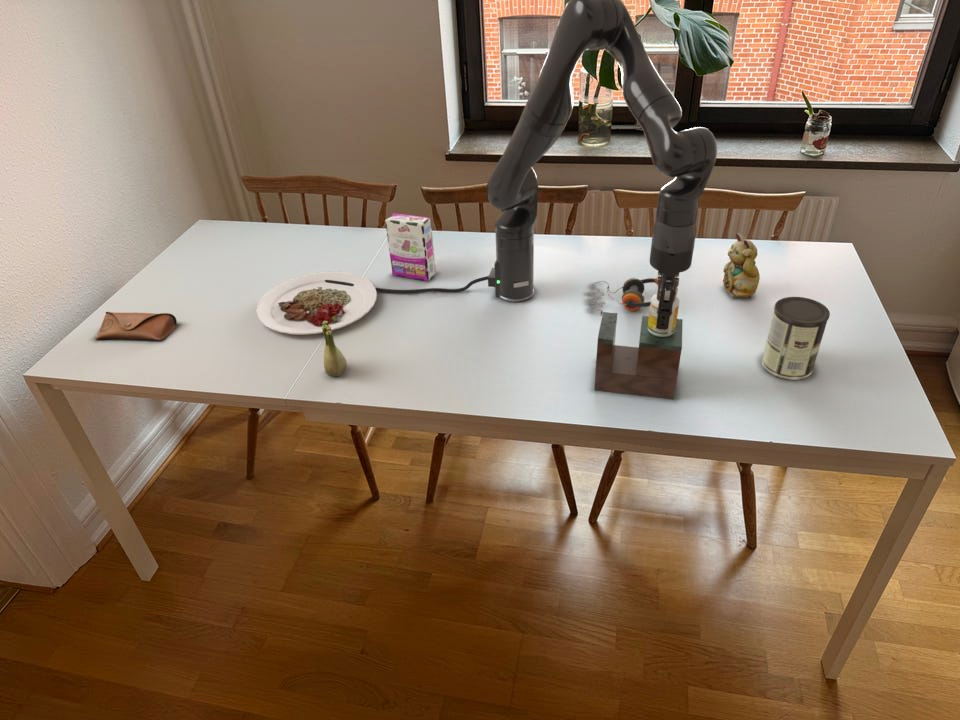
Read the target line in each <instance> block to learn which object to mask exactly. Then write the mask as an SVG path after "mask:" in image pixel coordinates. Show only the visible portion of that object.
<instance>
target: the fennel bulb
mask: <svg viewBox="0 0 960 720" xmlns="http://www.w3.org/2000/svg"><path fill="white" fill-rule="evenodd" d="M322 325H323V327H322V330H323V337H324V341H325V342H324V343H325V344H324V350H323V367H324V372H325V374H327V375H328V376H329V377H338V376H341V375H342V374H344V373H345V371H346V370H347V369H348V362H347V359H346V358H345V355H344V353H343V352H342V351H341V350H340V349H339V348H338V347H337V346H336V344H335V340H334V335H333V331H331V327H330V326H329V325H328V321H323V323H322Z"/></svg>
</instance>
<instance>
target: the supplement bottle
mask: <svg viewBox="0 0 960 720" xmlns="http://www.w3.org/2000/svg"><path fill="white" fill-rule="evenodd" d="M657 290H658V285H657V284H656V287H655V293H654V294H653V295H652V297H651V298H650V301H651V304H650V306H649V312H648V316H649V319H648V331H649V332H650V333H651V334H653V335H655V336H659V337H667V336H670V335H672V334H673V333H674V331H675V326H676V321H677V319H678V314H679V307H680V299H679V297H678V291H679V288H678V287H677V291H676V299H675V301H674V302H673V306H672V314H671V316H670V318H669V325H668V329H666V330H664V329H657V328H656V324H657V317H658V313H657V308H658V305H659V301H658V300H657ZM673 290H674V288H673ZM660 291H661V289H660Z"/></svg>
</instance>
